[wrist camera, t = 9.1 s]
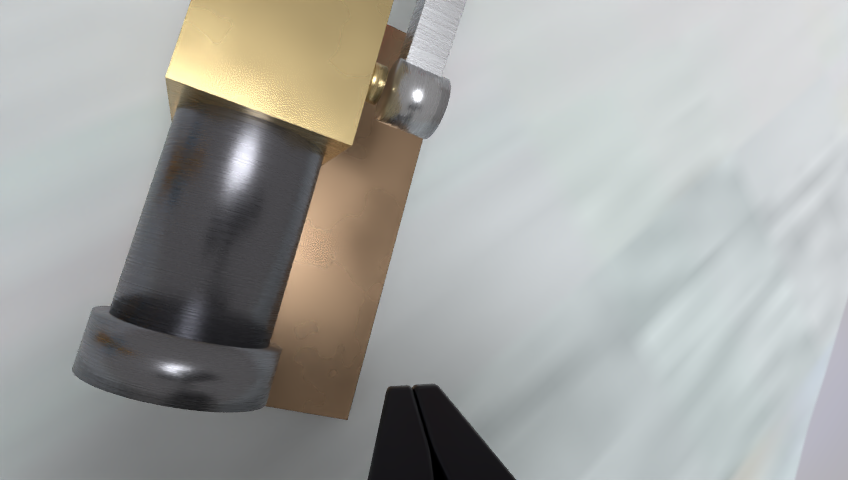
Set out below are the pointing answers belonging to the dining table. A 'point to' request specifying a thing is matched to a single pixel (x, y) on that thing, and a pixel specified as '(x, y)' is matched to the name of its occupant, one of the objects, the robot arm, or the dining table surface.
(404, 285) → the dining table surface
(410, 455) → the robot arm
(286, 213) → the valve
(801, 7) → the dining table surface
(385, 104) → the lever
